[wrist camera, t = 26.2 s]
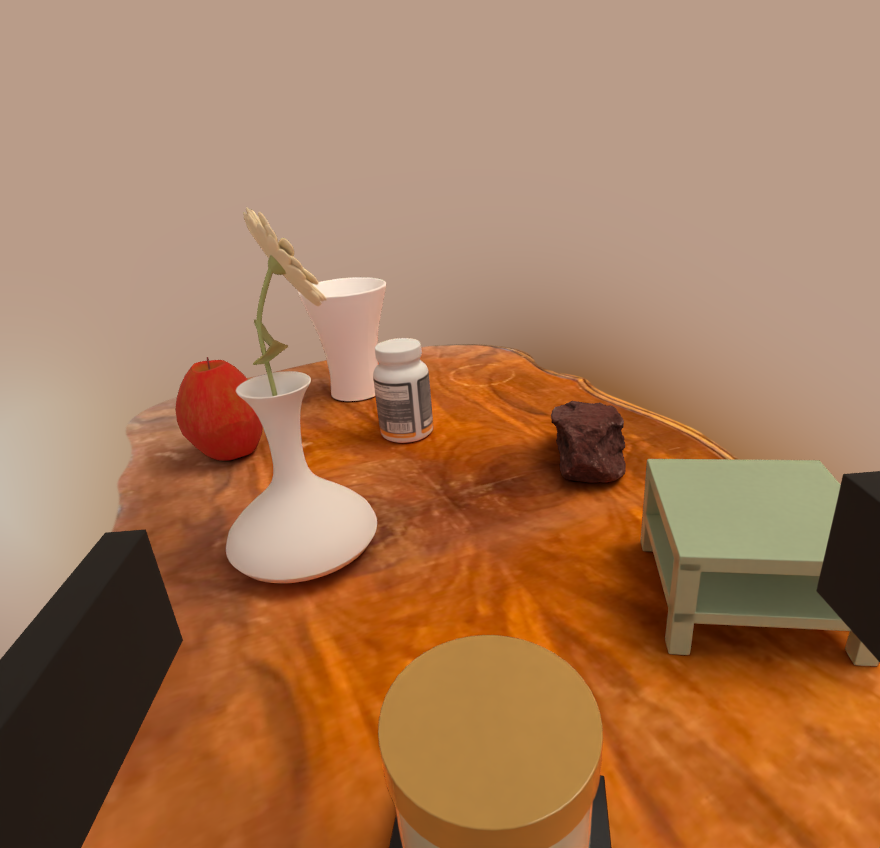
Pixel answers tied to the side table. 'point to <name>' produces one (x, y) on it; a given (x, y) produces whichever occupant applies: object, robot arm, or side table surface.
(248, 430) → the apple
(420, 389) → the pill bottle
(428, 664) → the jar
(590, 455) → the rock
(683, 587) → the shelf
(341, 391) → the cup
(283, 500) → the flower in vase
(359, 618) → the side table surface
